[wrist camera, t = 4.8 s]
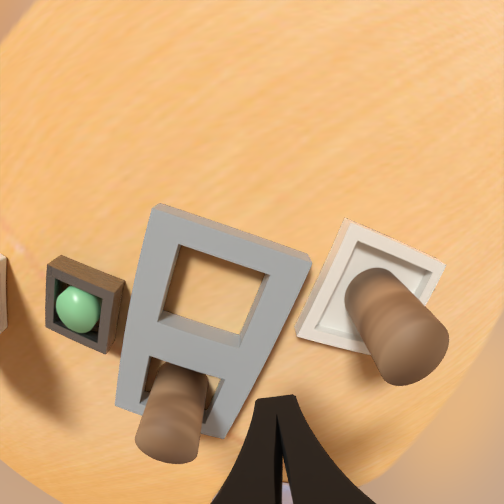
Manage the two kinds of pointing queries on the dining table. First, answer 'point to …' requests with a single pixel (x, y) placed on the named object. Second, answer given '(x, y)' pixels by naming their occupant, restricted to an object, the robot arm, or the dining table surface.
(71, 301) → the button
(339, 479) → the robot arm
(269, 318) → the grey frame
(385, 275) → the cylinder
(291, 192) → the dining table surface
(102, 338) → the switch box
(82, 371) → the dining table surface
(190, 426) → the cylinder
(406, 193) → the dining table surface
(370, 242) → the white square tray
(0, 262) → the supplement box
